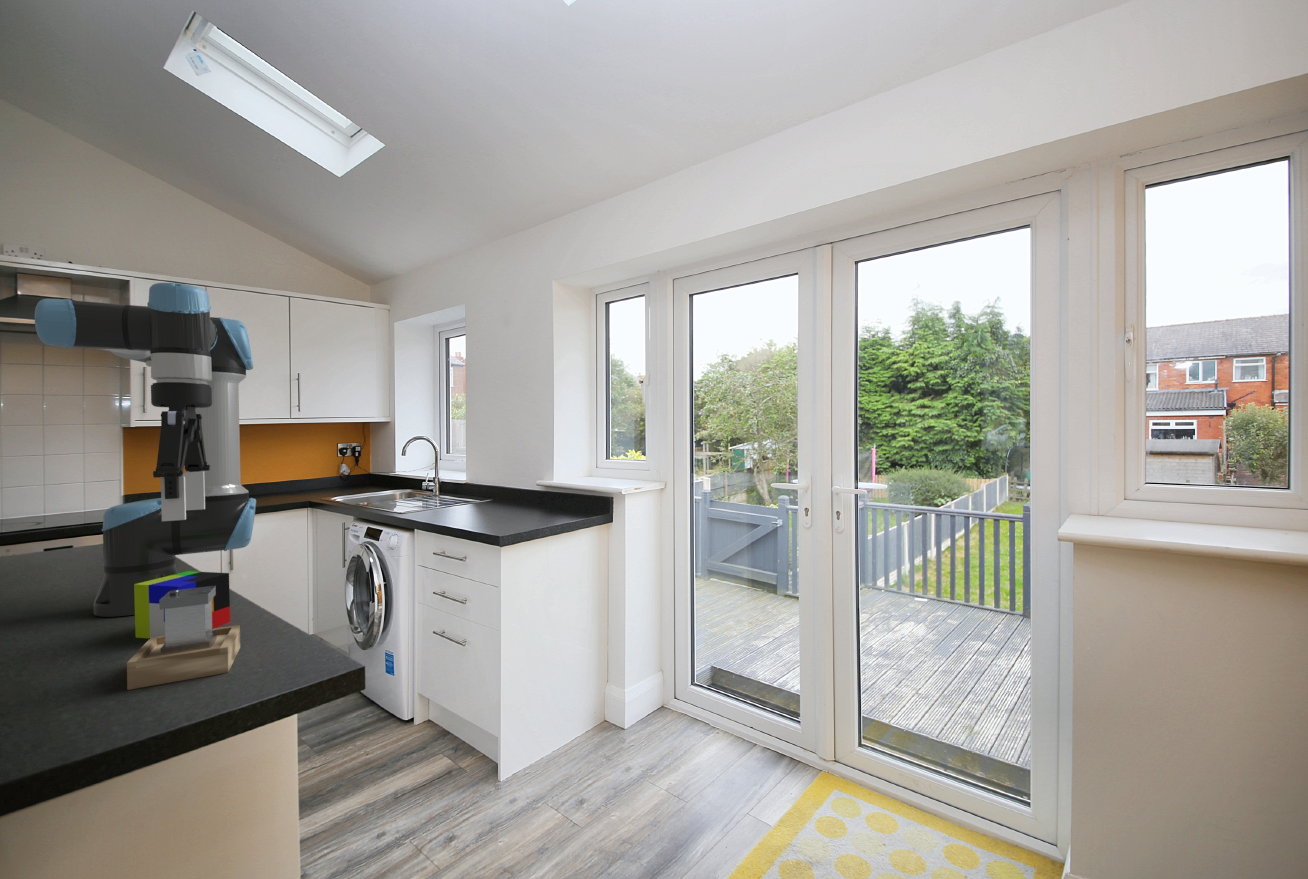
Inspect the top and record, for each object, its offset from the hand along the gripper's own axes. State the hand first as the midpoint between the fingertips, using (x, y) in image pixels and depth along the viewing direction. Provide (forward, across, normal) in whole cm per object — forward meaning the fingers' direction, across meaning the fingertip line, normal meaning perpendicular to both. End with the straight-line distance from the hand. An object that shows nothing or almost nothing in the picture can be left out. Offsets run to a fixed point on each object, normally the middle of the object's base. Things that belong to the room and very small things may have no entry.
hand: (185, 514), depth 92 cm
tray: (+25, 0, 0) cm, 25 cm away
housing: (+22, 0, 0) cm, 22 cm away
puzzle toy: (+25, -23, -5) cm, 34 cm away
